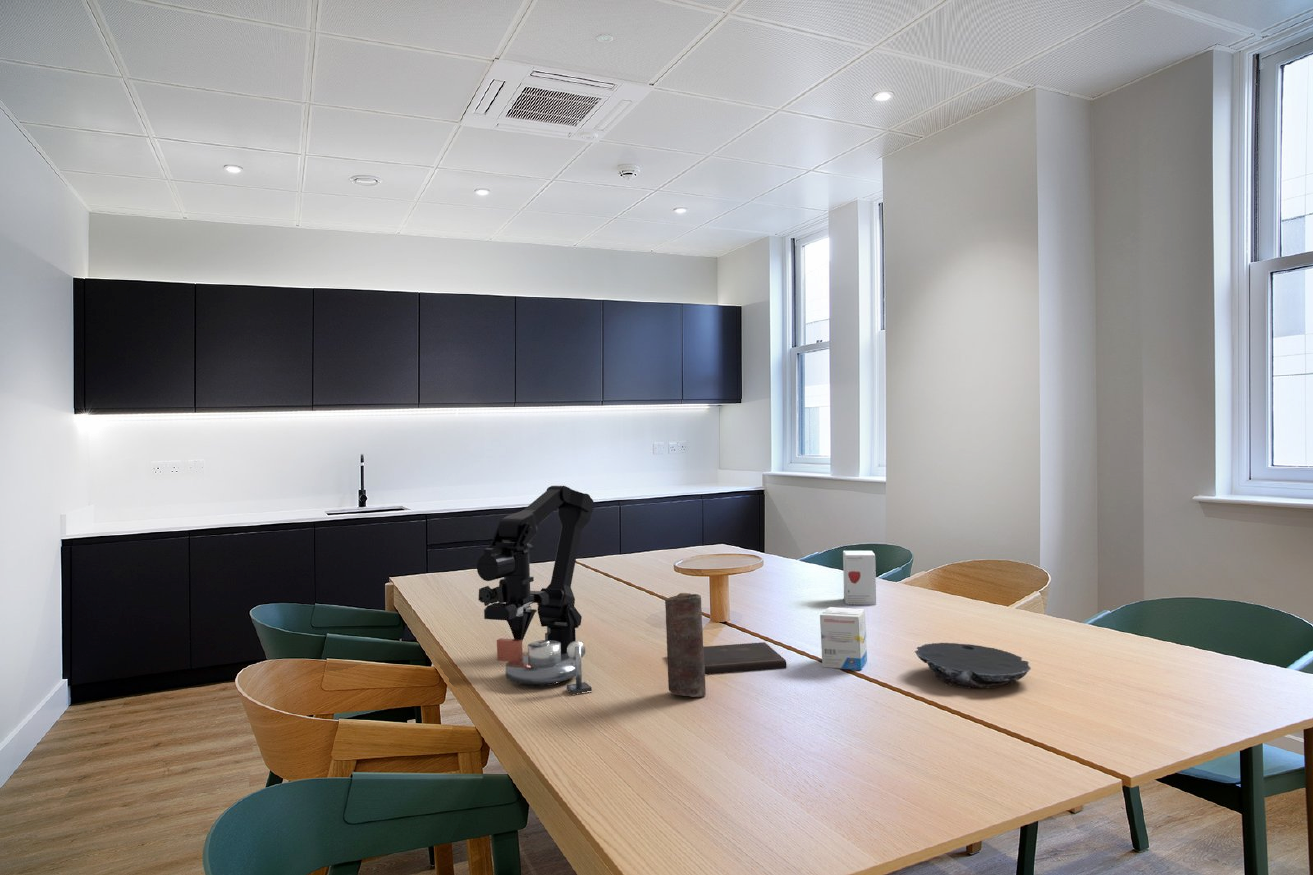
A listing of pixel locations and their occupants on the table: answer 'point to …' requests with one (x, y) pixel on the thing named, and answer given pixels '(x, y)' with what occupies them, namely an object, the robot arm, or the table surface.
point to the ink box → (843, 638)
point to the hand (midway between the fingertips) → (518, 643)
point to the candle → (685, 645)
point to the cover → (544, 653)
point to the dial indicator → (577, 667)
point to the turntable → (526, 674)
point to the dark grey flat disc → (972, 665)
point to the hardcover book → (741, 658)
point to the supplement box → (859, 577)
